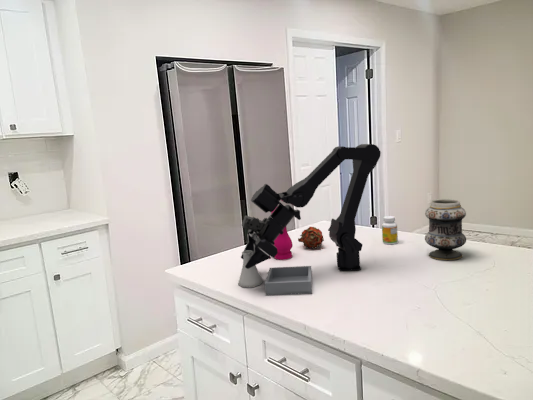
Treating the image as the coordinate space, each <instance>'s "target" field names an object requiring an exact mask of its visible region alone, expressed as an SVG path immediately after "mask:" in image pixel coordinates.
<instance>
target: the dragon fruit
mask: <svg viewBox="0 0 533 400" xmlns="http://www.w3.org/2000/svg"><path fill="white" fill-rule="evenodd" d="M297 241H298V242H299V243H302V244H303V246H304V247H305V248H310V249H317V248H318V247H319V246H322V244H323V242H325V239H324V235H323V232H322V231H321V230H320V228H317V227H315V226H309V227H308V228H306V229H304V230H302V231H301V234H300V235H299V237H298V238H297Z"/></svg>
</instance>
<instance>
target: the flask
mask: <svg viewBox="0 0 533 400" xmlns="http://www.w3.org/2000/svg"><path fill="white" fill-rule="evenodd" d="M252 253H253V251H251V250H246V251H244V250H243V251H242V252H241V255H242V254H243V259H242V260H243V262H242V268H241V272H240V276H239V280H238V283H237V285H238V286H240V287H242V288H250V289H251V288H255V287H258V286H260V285H261V284H262V283H263V282H264V279H263V278H262V276H261V274H260V272H259V270H258V268H257V265H255V266H253V267H251V268H249V269H247V268H246V267H245V265H246V263H247V262H248V260H249V258H250V257H251V255H252Z"/></svg>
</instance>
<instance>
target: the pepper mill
mask: <svg viewBox="0 0 533 400" xmlns="http://www.w3.org/2000/svg"><path fill="white" fill-rule="evenodd" d="M278 205H279V204H278ZM276 208H277V207H276ZM276 208H275V209H276ZM272 213H273V211H272V212H270V215H271V214H272ZM287 229H288V227H287V226H286V227H285V228H284V229H283V232H284V233H283V234H282V235H281V234H279V236H278V237H277V238H276V239H275V241H274V242H275V244H274V245H275V247H276V248H277V251H278V253H277V255H276V256H275V257H274V259H275V260H279V261H285V260H289V259H291V258H292V257H293V251H292V248H293V242H292V239H291V236H290V235H289V233H288V230H287Z"/></svg>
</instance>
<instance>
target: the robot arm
mask: <svg viewBox="0 0 533 400" xmlns="http://www.w3.org/2000/svg"><path fill="white" fill-rule="evenodd" d="M381 153H382V152H381V150H380V148H379V146H378V145H376V144H375V143H374V144H373V143H361V144H358V145H357V146H354V147H348V146H347V147H346V146H341V145H340V146H338V145H337V146H335V147H334V148H333V149H332V151H331V152H330V153H329V154H328V155H327V156H326V157H325V158H324V159H323V160H322V161H321V162H320V163H319V164H318V165H317V166H316V167H315V168H314V169H313V170H312V171H311V172H310V173H309V174H308V175H307V176H306V177H305V178H303V179H302V180H300V181H298V182H296V183H295V184H293V185H292V186H290V187H288V189H287V190H286V191H282V192H280V193H279V192H278V193H277V192H276V191H275V190H274V189H272V187H271V186H270V185H269V184H268V183H265V184H264V185H263V186H261V187H260V188H259V189H258V190H256V191H255V192H254V194H253V195H252V197H251V199H250V201H251V203H252V204H254V205H255V206H257V208H259V209H260V210H262V212H264V213H265V214H266V213H269V212H270V215H269V216H268V217H264V218H263V219H262V220H260V219H259V218H258V217H254V216H253V217H251V216H248V215H244V217H243V220H242V223H241V226H242V228H243V229H245V230H247V234H246V235H247V242H246V245H245V247H244V250H243V251H246V250H251V251H253V253H252V255H251V257H250V258H249V260H248V262H247V263H246V265H245V267H246V268H247V269H249V268H251V267H253V266H255V265H256V266H257V265H259V264H261V263H263V262H265V261H267V260H270V259H275V256H276V255H277V253H278V251H277V248H276V247H275V245H274V244H275V242H274V241H275V239H276V238H277V237H278V236H279V234H281V235H282V234H283V233H284V232H283V229H284V228H285V227H286V228H287V226H288V225H289V224H290V222H291V220H293V218H296V219H297V220H299V221H300V220H302V217H301V210H299V209H294V207H295V208H300V209H301V208H304V207H306V206H307V205H308V204H309V202H310V201H311V199H312V198H313V197H314V195H315V192H316V191H317V189H318V187H319V186H320V185H321V184H322V183H323V182H324V181H326V179H327V178H328V177H329V176H330V175H331V174H332V173H333V172H334V171H335V170H336V169H337V168H338V167H339V166H340V165H341V164H342V163H343V162H344V161H345V160H352V169H353V170H352V174H351V177H350V181H349V184H348V188H347V192H346V194H345V198H344V201H343V204H342V207H341V211H340V214H339V216H338V217H337V218H336V219H335V218H331V220H330V225H329V228H328V229H327V231H328V236H329V238H330V241H332V243H335V246H336V247H337V252H336V265H337V268H338V270H339V271H340V272H345V271H346V272H347V271H349V272H350V271H361V270H362V267H361V263H360V262H361V261H360V260H361V259H360V252H361V251H362V248H363V243H362V242H360V241H359V240H357V238H355V237H356V217H357V213H358V210H359V206H360V203H361V200H362V197H363V194H364V191H365V188H366V185H367V181H368V178H369V175H370V174H371V172H372V171H373V170H374V169H375V168H376V166H377V164H378V162H379V160H380V158H381ZM280 201H281V202H283V203H285V204H286V205H284V204H283V203H281V202H280ZM278 204H279V205H278ZM291 205H292V206H291ZM276 207H277V208H276ZM275 208H276V209H275ZM272 211H273V213H272V214H271V212H272ZM240 258H241V259H242V260H243V254H242V253H241V256H240Z"/></svg>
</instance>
